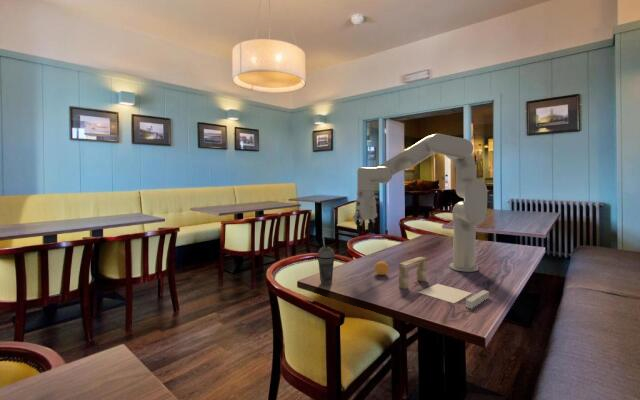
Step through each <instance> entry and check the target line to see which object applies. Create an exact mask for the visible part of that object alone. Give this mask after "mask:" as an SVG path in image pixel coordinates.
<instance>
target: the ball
mask: <svg viewBox="0 0 640 400" xmlns="http://www.w3.org/2000/svg"><path fill="white" fill-rule="evenodd" d="M374 270H375V273H376V274H377V275H378V276H379V275H380V276H384V275H387V273H388V272H389V270H390V269H389V266H388V264H387V262H385V261H381V260H380V261H377V262H376V263H375V266H374Z"/></svg>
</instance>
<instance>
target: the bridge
mask: <svg viewBox="0 0 640 400" xmlns="http://www.w3.org/2000/svg"><path fill="white" fill-rule="evenodd" d="M415 265H416V266H417V267H416V270H417V271H416V279H417V281H420V282H426V281H427V257H424V256H417V257H415V258H412V259H408V260H405V261H402V262H399V264H398V288H400V289H404V290H407V289H408V288H409V267H412V266H415Z"/></svg>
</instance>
